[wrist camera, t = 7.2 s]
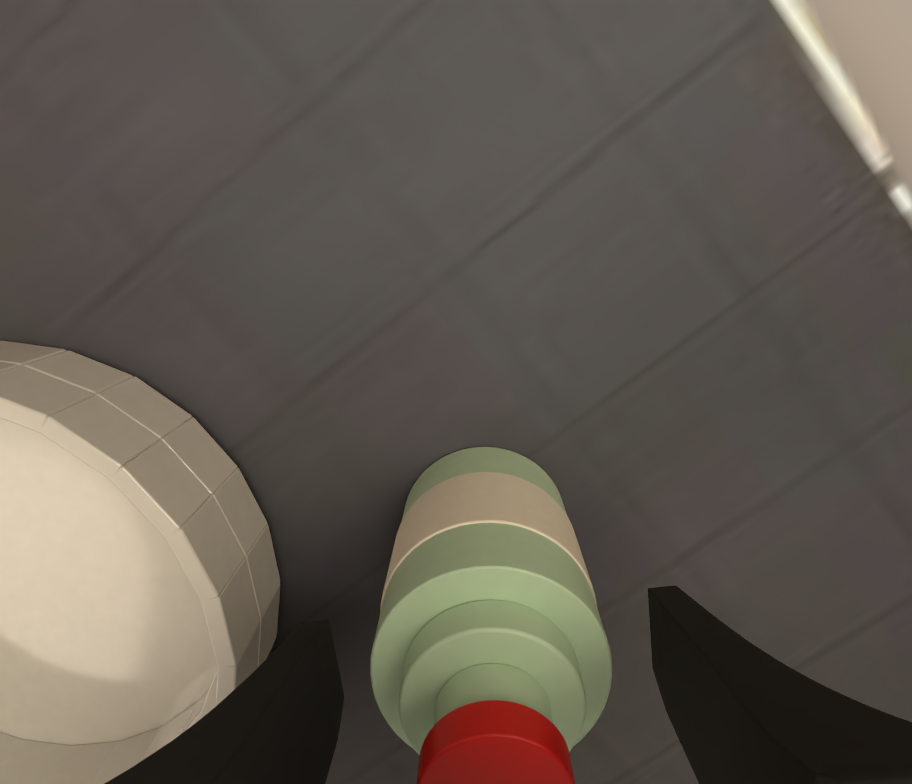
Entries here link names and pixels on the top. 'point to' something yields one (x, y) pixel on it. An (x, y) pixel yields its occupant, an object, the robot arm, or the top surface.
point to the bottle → (489, 626)
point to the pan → (117, 570)
